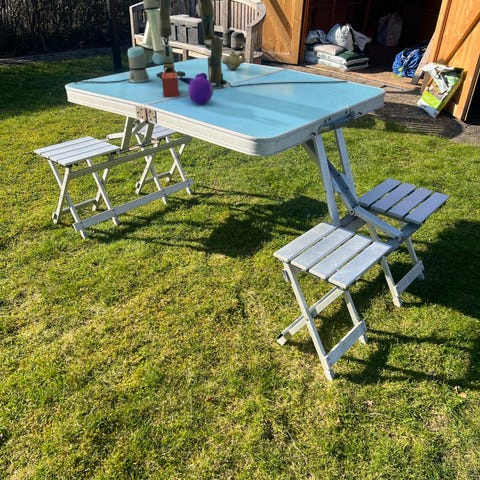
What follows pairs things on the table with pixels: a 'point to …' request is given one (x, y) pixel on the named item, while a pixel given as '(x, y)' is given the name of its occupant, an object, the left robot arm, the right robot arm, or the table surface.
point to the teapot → (233, 60)
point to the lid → (169, 75)
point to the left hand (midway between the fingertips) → (171, 77)
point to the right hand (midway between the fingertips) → (167, 55)
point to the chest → (170, 88)
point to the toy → (199, 88)
